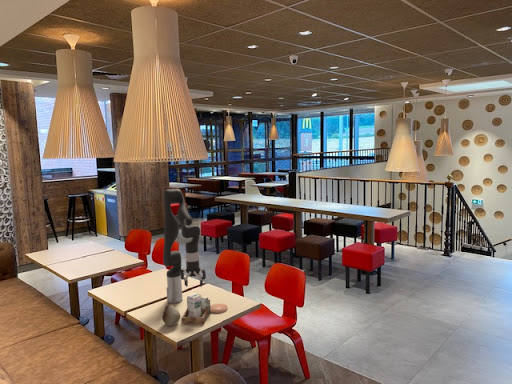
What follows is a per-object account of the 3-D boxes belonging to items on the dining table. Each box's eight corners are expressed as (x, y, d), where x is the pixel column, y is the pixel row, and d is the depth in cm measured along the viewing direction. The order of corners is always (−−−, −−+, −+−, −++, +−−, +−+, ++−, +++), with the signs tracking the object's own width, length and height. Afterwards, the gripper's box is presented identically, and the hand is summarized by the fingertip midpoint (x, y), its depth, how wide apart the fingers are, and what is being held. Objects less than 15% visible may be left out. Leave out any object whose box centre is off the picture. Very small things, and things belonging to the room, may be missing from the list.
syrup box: (195, 321, 221) (193, 297, 219) (188, 319, 225) (187, 295, 223) (202, 318, 225) (201, 294, 223) (196, 315, 229) (194, 292, 227)
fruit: (174, 318, 226) (172, 299, 224) (184, 322, 220) (183, 303, 218) (159, 325, 218) (158, 305, 217) (170, 329, 212) (168, 309, 211)
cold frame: (181, 323, 219) (180, 307, 218) (188, 312, 233) (187, 297, 232) (206, 323, 218) (205, 307, 217) (211, 313, 232) (210, 297, 230)
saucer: (206, 313, 231) (206, 311, 231) (210, 305, 243) (210, 303, 243) (225, 313, 230) (225, 311, 230) (229, 305, 242) (229, 303, 242)
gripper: (178, 261, 217) (180, 288, 219) (203, 261, 216) (204, 288, 218) (182, 257, 225) (183, 283, 227) (205, 257, 223) (207, 283, 226)
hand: (194, 286), depth 222 cm, fingers open, 8 cm apart
